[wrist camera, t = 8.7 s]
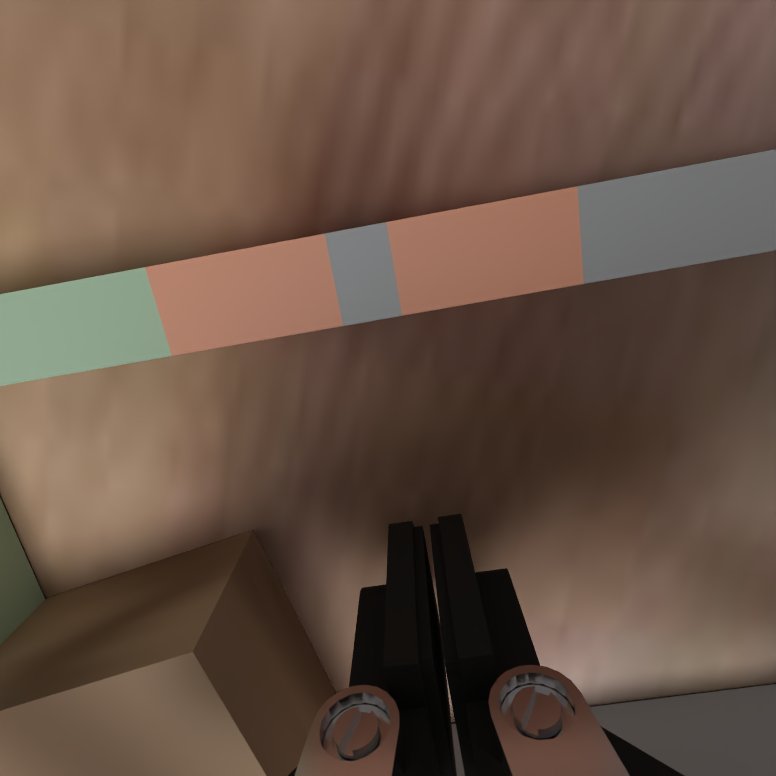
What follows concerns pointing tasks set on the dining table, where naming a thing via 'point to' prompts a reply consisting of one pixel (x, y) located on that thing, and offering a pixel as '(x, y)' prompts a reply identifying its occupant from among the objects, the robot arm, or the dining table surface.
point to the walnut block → (163, 673)
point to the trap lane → (409, 296)
